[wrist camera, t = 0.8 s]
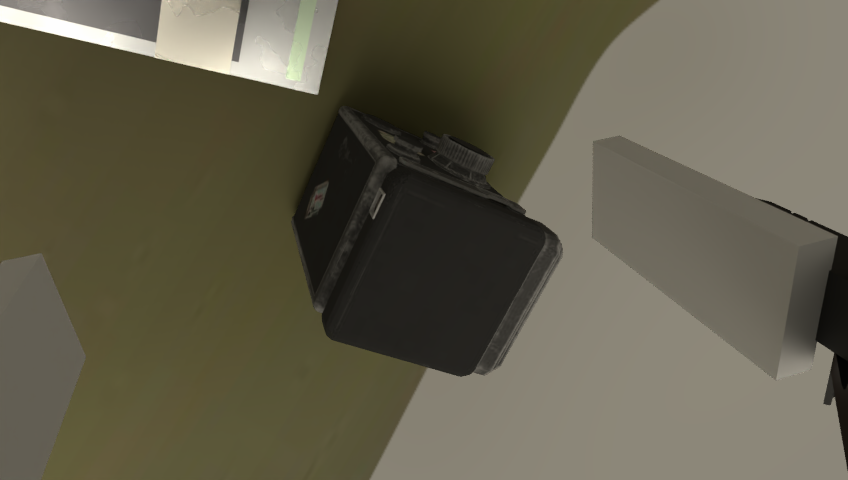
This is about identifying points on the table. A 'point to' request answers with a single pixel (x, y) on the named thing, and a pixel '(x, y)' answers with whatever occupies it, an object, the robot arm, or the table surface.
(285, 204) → the table surface
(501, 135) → the table surface
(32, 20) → the panel
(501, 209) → the camera
